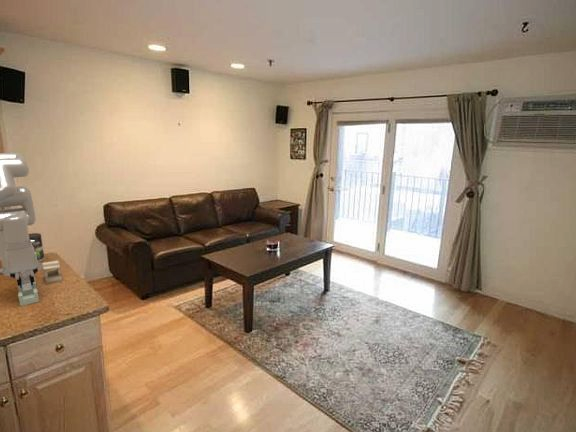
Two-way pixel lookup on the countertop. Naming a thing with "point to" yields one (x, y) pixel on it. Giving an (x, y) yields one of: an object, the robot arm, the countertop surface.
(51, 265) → the block
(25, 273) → the axle
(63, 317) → the countertop surface
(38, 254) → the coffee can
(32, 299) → the cradle
